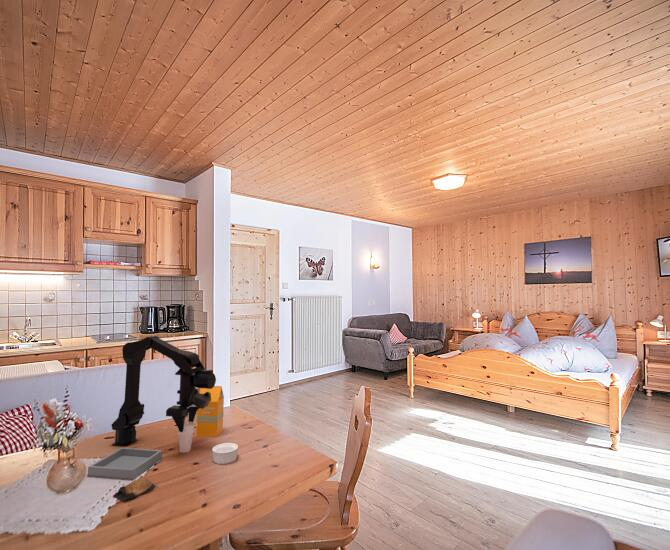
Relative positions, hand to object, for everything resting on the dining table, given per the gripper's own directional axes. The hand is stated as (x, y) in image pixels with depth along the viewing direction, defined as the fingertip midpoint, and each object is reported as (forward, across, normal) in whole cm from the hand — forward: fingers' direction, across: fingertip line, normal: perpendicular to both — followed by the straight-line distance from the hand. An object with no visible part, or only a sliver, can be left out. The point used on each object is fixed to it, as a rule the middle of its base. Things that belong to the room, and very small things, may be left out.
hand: (186, 428), depth 138 cm
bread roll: (+9, -30, -1) cm, 31 cm away
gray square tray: (+8, -16, +12) cm, 22 cm away
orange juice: (+8, +18, -1) cm, 20 cm away
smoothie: (+8, 0, 0) cm, 8 cm away
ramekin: (+8, -5, -18) cm, 20 cm away
